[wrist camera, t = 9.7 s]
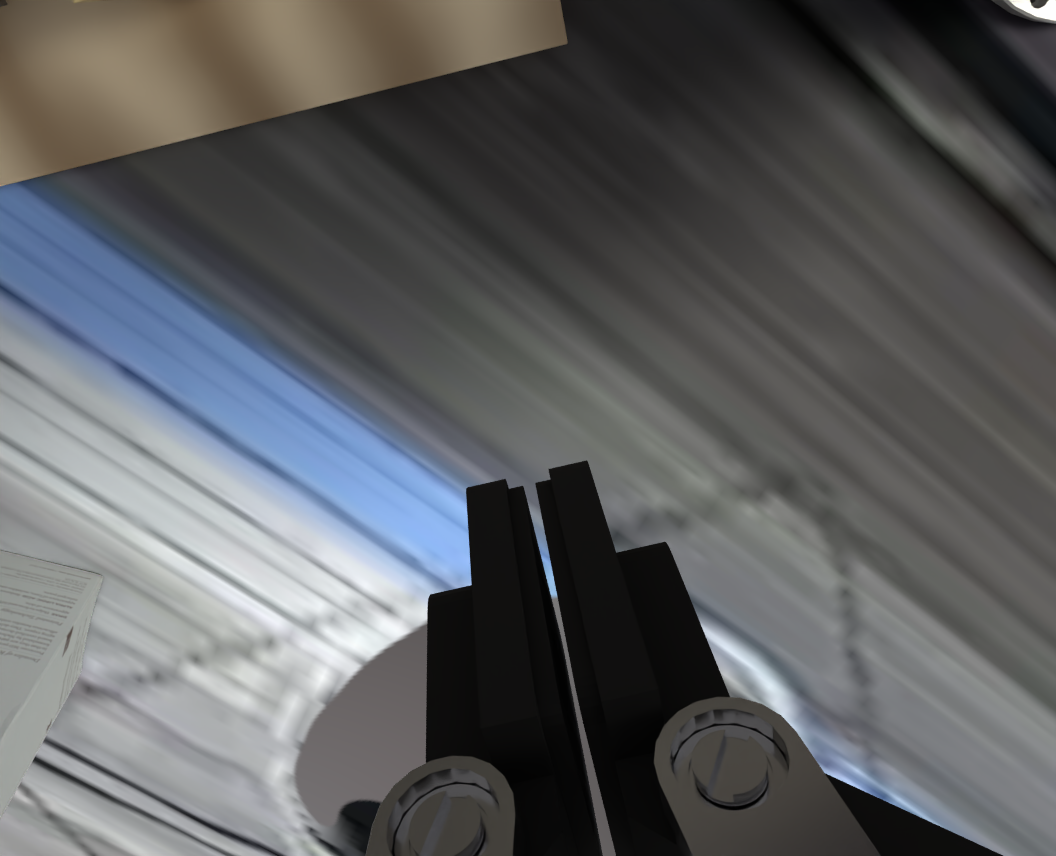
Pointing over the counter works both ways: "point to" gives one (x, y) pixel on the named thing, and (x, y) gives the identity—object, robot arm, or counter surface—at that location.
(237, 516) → the counter surface
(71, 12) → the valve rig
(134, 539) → the counter surface
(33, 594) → the skincare box
